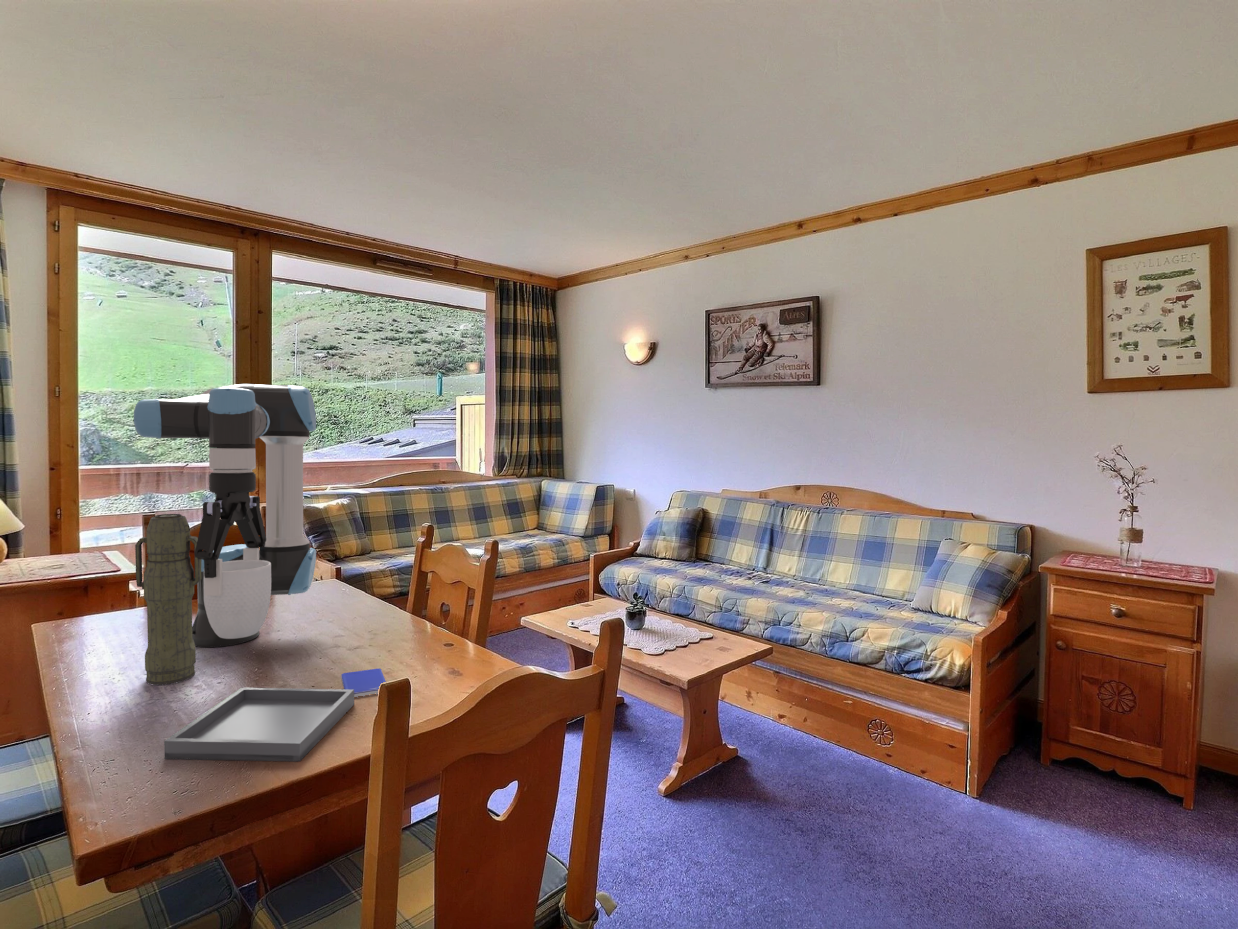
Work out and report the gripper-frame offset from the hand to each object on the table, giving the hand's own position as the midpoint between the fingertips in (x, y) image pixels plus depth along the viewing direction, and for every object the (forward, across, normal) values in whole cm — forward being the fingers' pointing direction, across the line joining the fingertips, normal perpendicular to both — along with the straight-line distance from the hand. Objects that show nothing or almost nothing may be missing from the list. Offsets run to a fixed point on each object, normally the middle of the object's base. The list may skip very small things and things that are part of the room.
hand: (233, 587), depth 122 cm
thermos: (+24, -16, -24) cm, 37 cm away
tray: (+24, +6, +10) cm, 27 cm away
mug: (+9, 0, 0) cm, 9 cm away
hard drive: (+25, -15, +19) cm, 34 cm away
